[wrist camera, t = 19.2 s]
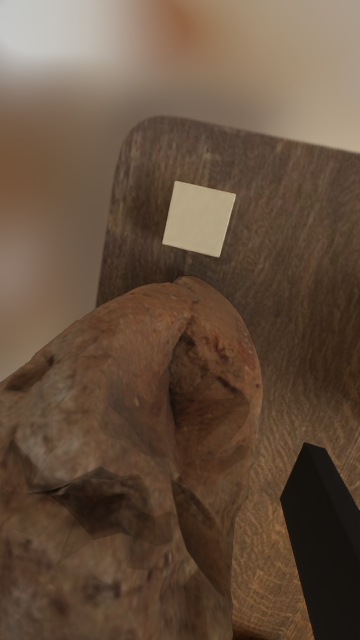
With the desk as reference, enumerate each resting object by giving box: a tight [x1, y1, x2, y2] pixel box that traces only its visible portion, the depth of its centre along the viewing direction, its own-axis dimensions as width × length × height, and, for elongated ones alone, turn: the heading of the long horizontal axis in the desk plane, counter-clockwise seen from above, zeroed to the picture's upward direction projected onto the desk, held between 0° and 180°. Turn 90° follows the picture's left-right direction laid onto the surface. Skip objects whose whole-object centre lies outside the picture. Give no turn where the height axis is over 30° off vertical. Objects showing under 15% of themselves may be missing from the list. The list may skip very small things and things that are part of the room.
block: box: [0, 275, 263, 640], centre depth 13 cm, size 11×8×20 cm
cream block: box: [162, 181, 236, 257], centre depth 19 cm, size 4×4×4 cm
